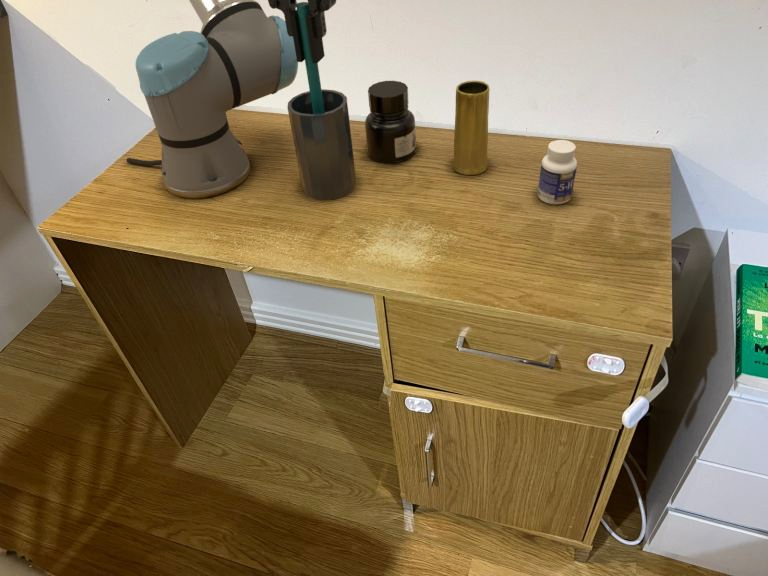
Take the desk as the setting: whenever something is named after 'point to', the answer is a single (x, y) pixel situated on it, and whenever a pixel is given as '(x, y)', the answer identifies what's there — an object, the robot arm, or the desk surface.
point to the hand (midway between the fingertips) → (310, 58)
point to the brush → (310, 61)
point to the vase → (471, 128)
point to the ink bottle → (390, 123)
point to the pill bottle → (557, 173)
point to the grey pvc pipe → (323, 145)
